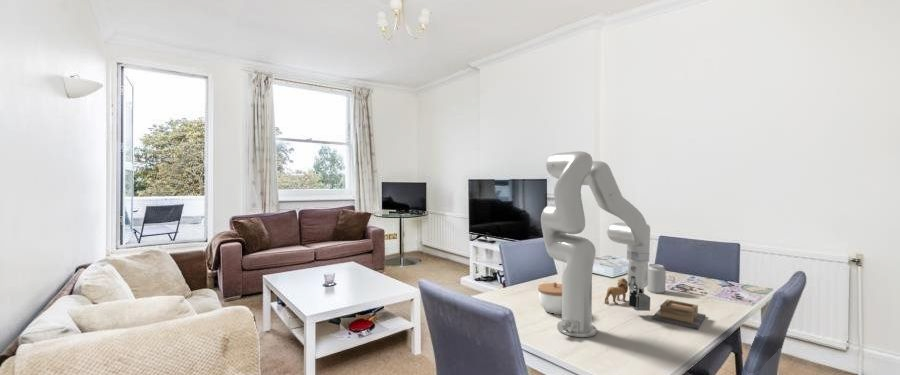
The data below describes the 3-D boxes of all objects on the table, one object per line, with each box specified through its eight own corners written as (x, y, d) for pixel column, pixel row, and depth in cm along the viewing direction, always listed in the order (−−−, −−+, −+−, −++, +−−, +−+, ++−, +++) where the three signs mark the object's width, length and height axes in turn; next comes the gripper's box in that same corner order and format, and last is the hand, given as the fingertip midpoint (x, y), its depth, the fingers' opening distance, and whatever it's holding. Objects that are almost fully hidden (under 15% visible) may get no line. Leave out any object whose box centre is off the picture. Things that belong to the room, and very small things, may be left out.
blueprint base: (697, 329, 126) (697, 316, 126) (651, 319, 136) (651, 306, 136) (705, 316, 138) (705, 304, 138) (663, 307, 148) (663, 296, 147)
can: (642, 290, 171) (643, 264, 171) (653, 288, 174) (654, 262, 174) (657, 294, 164) (658, 267, 164) (669, 292, 167) (669, 266, 167)
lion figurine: (618, 296, 162) (618, 276, 161) (630, 299, 158) (631, 278, 157) (601, 304, 152) (601, 282, 152) (614, 307, 148) (614, 285, 148)
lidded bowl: (548, 318, 137) (548, 288, 136) (532, 307, 149) (532, 279, 148) (578, 315, 140) (579, 285, 140) (560, 304, 152) (560, 277, 152)
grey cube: (642, 306, 141) (643, 293, 141) (649, 310, 136) (650, 297, 136) (629, 306, 141) (629, 292, 141) (636, 310, 136) (636, 296, 136)
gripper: (642, 261, 130) (640, 312, 131) (655, 255, 143) (653, 302, 143) (619, 257, 135) (618, 307, 136) (634, 252, 148) (633, 297, 148)
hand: (636, 304), depth 139 cm, fingers closed on grey cube, 5 cm apart
